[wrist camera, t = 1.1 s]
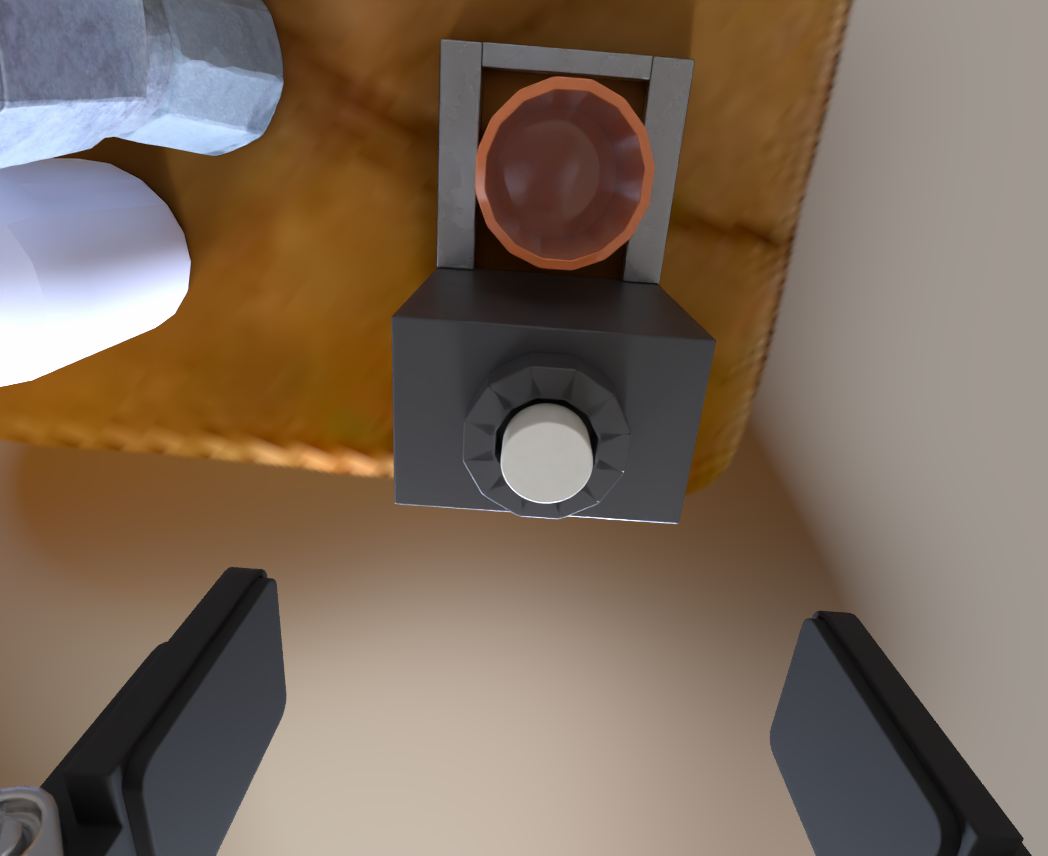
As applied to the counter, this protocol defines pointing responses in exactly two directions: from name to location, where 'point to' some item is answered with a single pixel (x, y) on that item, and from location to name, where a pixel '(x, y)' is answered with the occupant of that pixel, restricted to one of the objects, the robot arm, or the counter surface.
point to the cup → (564, 173)
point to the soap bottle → (81, 263)
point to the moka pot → (135, 75)
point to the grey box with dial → (546, 389)
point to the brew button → (546, 453)
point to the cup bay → (471, 57)
